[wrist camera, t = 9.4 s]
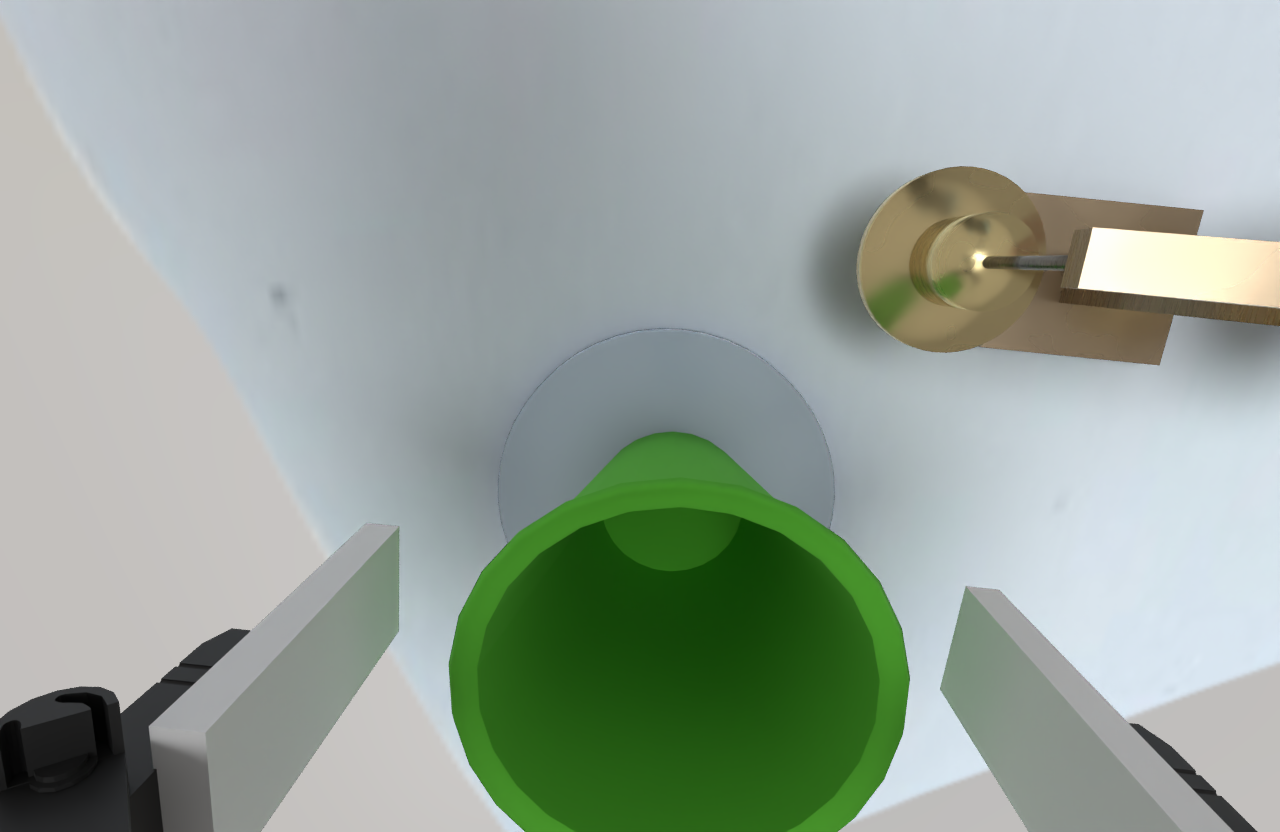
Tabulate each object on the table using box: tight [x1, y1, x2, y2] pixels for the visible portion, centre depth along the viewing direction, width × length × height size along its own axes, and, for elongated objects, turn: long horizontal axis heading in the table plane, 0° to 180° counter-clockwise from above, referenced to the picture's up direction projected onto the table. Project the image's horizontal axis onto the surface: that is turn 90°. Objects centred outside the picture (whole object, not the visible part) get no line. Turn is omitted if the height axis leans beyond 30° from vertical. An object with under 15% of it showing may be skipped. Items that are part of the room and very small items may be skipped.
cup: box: [449, 432, 910, 832], centre depth 18 cm, size 9×9×11 cm
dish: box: [498, 329, 834, 543], centre depth 24 cm, size 12×12×1 cm
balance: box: [856, 166, 1280, 365], centre depth 15 cm, size 17×5×14 cm, turn 84°
